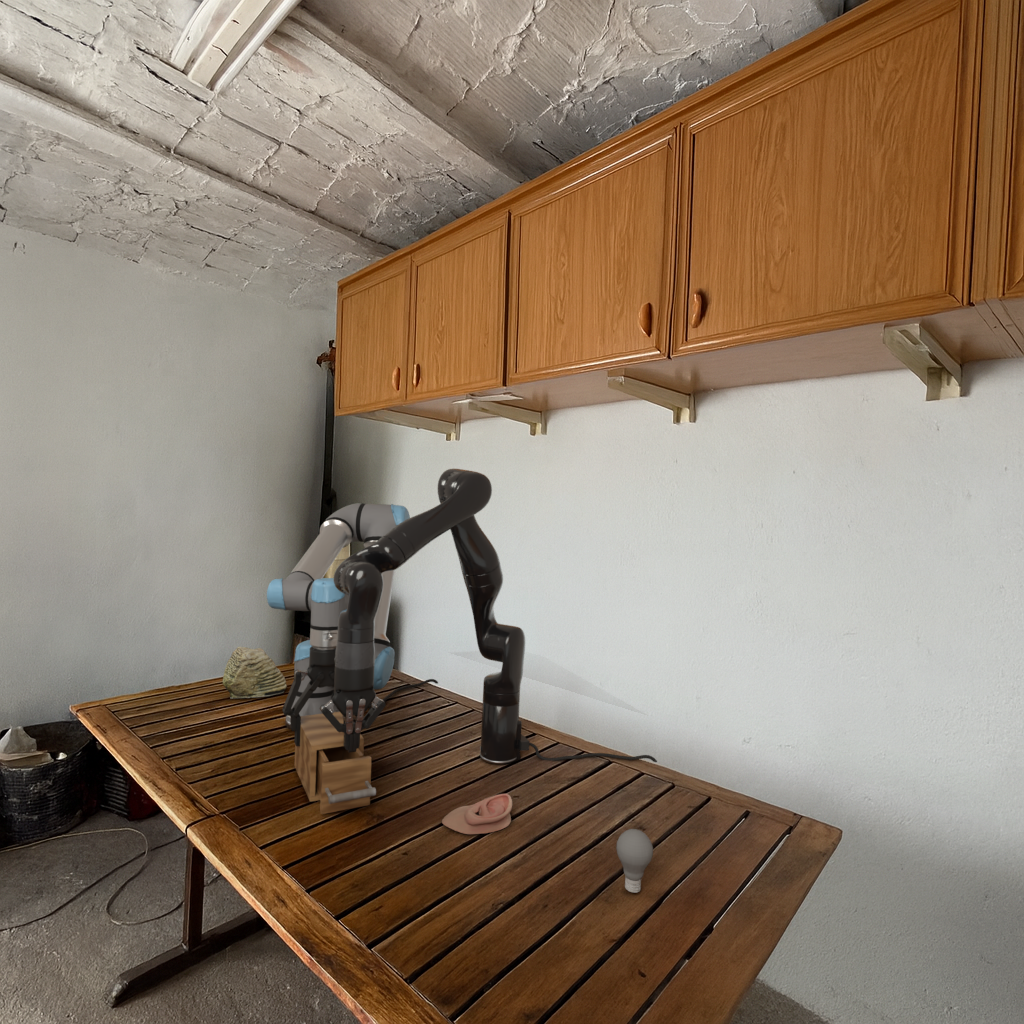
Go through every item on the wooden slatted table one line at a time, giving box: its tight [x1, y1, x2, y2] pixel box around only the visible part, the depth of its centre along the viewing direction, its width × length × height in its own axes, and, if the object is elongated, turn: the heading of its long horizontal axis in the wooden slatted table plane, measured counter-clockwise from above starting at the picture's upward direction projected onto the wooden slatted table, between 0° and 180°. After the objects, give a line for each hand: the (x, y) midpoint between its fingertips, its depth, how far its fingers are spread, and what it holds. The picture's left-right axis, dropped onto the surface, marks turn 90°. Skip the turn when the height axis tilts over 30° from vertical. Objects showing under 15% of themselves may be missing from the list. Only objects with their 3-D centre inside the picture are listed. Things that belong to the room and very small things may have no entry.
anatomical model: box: [441, 793, 513, 835], centre depth 126 cm, size 13×4×12 cm
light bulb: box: [615, 828, 654, 894], centre depth 106 cm, size 6×6×10 cm
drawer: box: [315, 746, 377, 815], centre depth 132 cm, size 23×10×10 cm, turn 28°
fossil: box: [222, 646, 288, 699], centre depth 198 cm, size 9×18×15 cm, turn 132°
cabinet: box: [294, 712, 365, 803], centre depth 142 cm, size 19×11×12 cm, turn 28°
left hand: (323, 740), depth 146 cm, fingers closed on cabinet, 11 cm apart
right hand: (351, 750), depth 124 cm, fingers closed
